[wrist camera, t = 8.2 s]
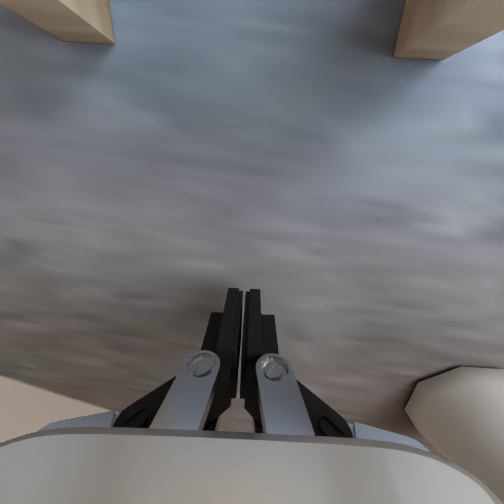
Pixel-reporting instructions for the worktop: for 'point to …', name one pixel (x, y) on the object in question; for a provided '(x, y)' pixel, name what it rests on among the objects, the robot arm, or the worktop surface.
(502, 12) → the bridge
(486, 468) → the flask
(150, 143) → the worktop surface
